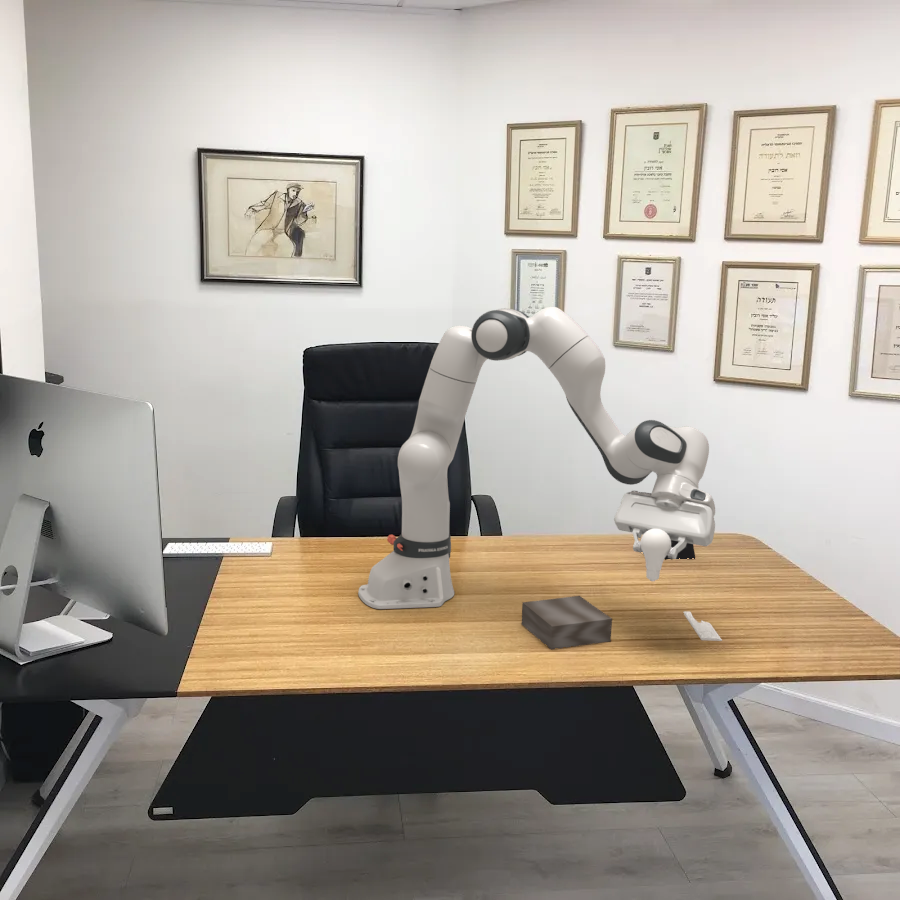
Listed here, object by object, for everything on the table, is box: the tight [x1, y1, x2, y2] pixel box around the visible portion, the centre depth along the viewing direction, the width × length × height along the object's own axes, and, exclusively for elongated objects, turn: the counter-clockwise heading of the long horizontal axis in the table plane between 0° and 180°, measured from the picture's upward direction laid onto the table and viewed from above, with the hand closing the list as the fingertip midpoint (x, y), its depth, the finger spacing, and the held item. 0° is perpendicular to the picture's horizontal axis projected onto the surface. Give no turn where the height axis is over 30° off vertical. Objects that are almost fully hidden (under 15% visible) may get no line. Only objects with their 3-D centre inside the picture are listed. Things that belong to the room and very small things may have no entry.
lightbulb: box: [639, 529, 671, 582], centre depth 189 cm, size 6×6×11 cm
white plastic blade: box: [683, 611, 723, 642], centre depth 204 cm, size 5×15×1 cm, turn 0°
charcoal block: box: [521, 595, 613, 650], centre depth 198 cm, size 14×14×5 cm
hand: (653, 554), depth 188 cm, fingers closed on lightbulb, 6 cm apart
